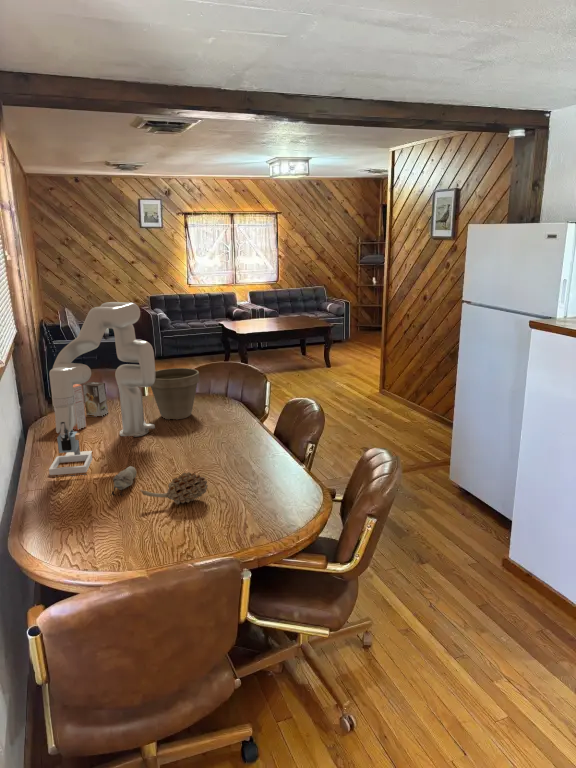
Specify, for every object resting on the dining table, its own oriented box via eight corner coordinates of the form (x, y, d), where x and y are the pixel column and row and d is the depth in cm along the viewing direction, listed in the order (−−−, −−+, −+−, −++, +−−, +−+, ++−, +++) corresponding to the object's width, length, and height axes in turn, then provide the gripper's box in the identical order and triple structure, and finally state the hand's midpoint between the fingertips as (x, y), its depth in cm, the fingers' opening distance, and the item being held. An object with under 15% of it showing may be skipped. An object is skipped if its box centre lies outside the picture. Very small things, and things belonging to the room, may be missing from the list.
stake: (92, 453, 230) (90, 434, 228) (88, 461, 222) (86, 441, 220) (67, 455, 229) (64, 435, 227) (62, 463, 220) (59, 443, 218)
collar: (62, 447, 214) (60, 432, 213) (82, 446, 215) (80, 431, 214) (58, 453, 209) (57, 437, 207) (79, 451, 210) (77, 436, 208)
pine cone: (206, 492, 193) (204, 465, 191) (210, 504, 184) (209, 476, 182) (139, 502, 187) (137, 474, 184) (141, 515, 178) (139, 486, 175)
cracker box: (55, 427, 264) (50, 383, 259) (66, 423, 269) (60, 381, 264) (77, 431, 258) (71, 387, 253) (87, 427, 263) (82, 384, 258)
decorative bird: (141, 479, 205) (139, 460, 203) (124, 498, 190) (122, 478, 188) (126, 478, 206) (124, 459, 204) (108, 498, 190) (106, 478, 188)
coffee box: (109, 413, 284) (106, 382, 280) (101, 417, 278) (98, 385, 274) (93, 412, 287) (90, 381, 283) (85, 415, 281) (82, 384, 277)
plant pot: (145, 412, 285) (142, 370, 279) (193, 405, 295) (191, 365, 289) (156, 426, 263) (153, 381, 257) (207, 418, 273) (205, 375, 267)
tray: (92, 462, 221) (91, 453, 221) (86, 475, 209) (85, 466, 208) (57, 464, 219) (56, 456, 219) (49, 478, 207) (48, 469, 206)
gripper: (58, 395, 215) (63, 440, 219) (47, 408, 198) (53, 456, 203) (78, 394, 216) (83, 438, 221) (69, 406, 200) (74, 454, 204)
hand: (68, 446), depth 212 cm, fingers closed on collar, 6 cm apart
